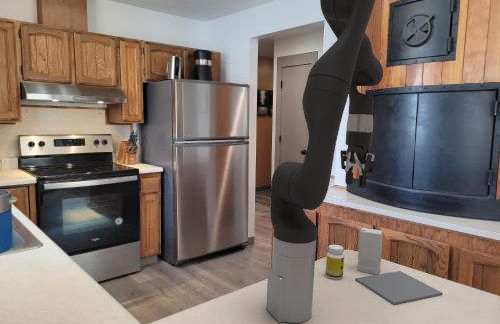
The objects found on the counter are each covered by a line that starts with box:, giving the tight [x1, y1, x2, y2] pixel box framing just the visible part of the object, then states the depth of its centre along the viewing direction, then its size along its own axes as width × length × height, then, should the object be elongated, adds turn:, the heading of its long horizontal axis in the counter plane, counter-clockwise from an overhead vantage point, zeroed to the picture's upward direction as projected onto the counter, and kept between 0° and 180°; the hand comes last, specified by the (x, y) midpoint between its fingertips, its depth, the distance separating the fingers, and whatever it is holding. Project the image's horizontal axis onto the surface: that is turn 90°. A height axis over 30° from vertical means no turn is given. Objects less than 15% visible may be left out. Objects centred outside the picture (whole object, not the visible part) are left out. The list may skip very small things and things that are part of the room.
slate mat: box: [354, 270, 443, 306], centre depth 94 cm, size 16×14×1 cm
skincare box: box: [356, 227, 384, 275], centre depth 104 cm, size 6×4×12 cm
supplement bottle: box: [325, 244, 345, 280], centre depth 99 cm, size 5×5×8 cm
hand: (355, 185), depth 110 cm, fingers open, 5 cm apart
